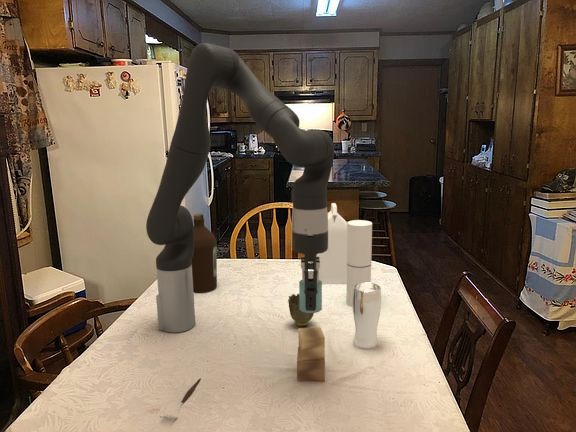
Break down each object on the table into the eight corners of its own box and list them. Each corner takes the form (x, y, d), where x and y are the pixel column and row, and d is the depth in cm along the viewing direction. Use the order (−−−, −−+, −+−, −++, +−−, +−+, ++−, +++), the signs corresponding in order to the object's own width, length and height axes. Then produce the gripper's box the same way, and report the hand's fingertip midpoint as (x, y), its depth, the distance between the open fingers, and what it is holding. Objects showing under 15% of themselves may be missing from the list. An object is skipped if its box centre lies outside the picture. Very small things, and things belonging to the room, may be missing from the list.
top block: (301, 360, 101) (301, 338, 100) (298, 348, 106) (298, 328, 105) (324, 358, 101) (324, 337, 100) (320, 347, 106) (320, 326, 105)
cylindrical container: (343, 306, 140) (344, 224, 135) (349, 297, 147) (350, 219, 141) (367, 309, 138) (369, 226, 132) (372, 300, 144) (374, 221, 139)
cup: (313, 332, 124) (313, 304, 122) (286, 330, 125) (285, 302, 124) (317, 320, 131) (317, 293, 129) (291, 318, 132) (291, 291, 131)
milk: (352, 284, 158) (353, 208, 152) (317, 284, 158) (317, 208, 152) (348, 272, 170) (349, 201, 164) (316, 272, 170) (316, 201, 164)
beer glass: (362, 352, 113) (364, 294, 110) (346, 340, 119) (347, 285, 116) (385, 345, 116) (387, 288, 113) (368, 334, 122) (369, 280, 119)
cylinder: (299, 313, 99) (299, 286, 98) (299, 304, 104) (299, 278, 102) (322, 313, 99) (322, 286, 98) (321, 303, 104) (321, 278, 102)
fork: (206, 381, 103) (205, 373, 103) (171, 427, 88) (171, 418, 88) (195, 379, 104) (194, 371, 103) (159, 425, 89) (158, 416, 88)
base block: (297, 381, 102) (296, 360, 101) (298, 366, 108) (297, 347, 107) (324, 382, 101) (324, 361, 100) (324, 367, 107) (324, 347, 106)
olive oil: (186, 295, 150) (181, 219, 145) (186, 283, 161) (181, 212, 155) (220, 292, 153) (216, 217, 147) (217, 280, 163) (214, 210, 157)
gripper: (292, 220, 104) (293, 292, 108) (291, 237, 90) (292, 319, 94) (326, 220, 104) (326, 292, 108) (330, 237, 90) (329, 319, 94)
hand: (310, 304), depth 101 cm, fingers closed on cylinder, 4 cm apart
